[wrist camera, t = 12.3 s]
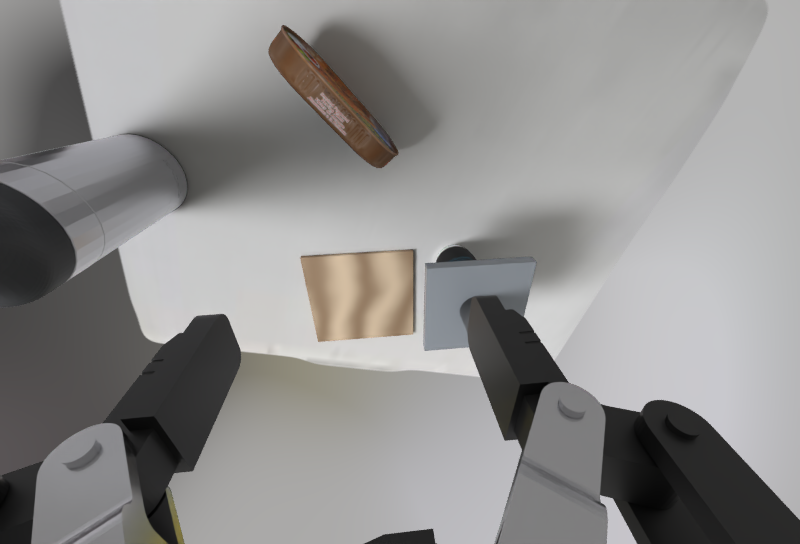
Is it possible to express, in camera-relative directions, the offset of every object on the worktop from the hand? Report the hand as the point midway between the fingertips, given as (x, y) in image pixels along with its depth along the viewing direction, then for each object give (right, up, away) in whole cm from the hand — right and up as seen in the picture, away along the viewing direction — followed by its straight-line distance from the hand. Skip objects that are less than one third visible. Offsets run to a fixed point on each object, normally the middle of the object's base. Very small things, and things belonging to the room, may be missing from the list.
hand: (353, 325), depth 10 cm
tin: (-5, +21, +25) cm, 33 cm away
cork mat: (-4, -2, +39) cm, 39 cm away
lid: (+10, -2, +27) cm, 29 cm away
